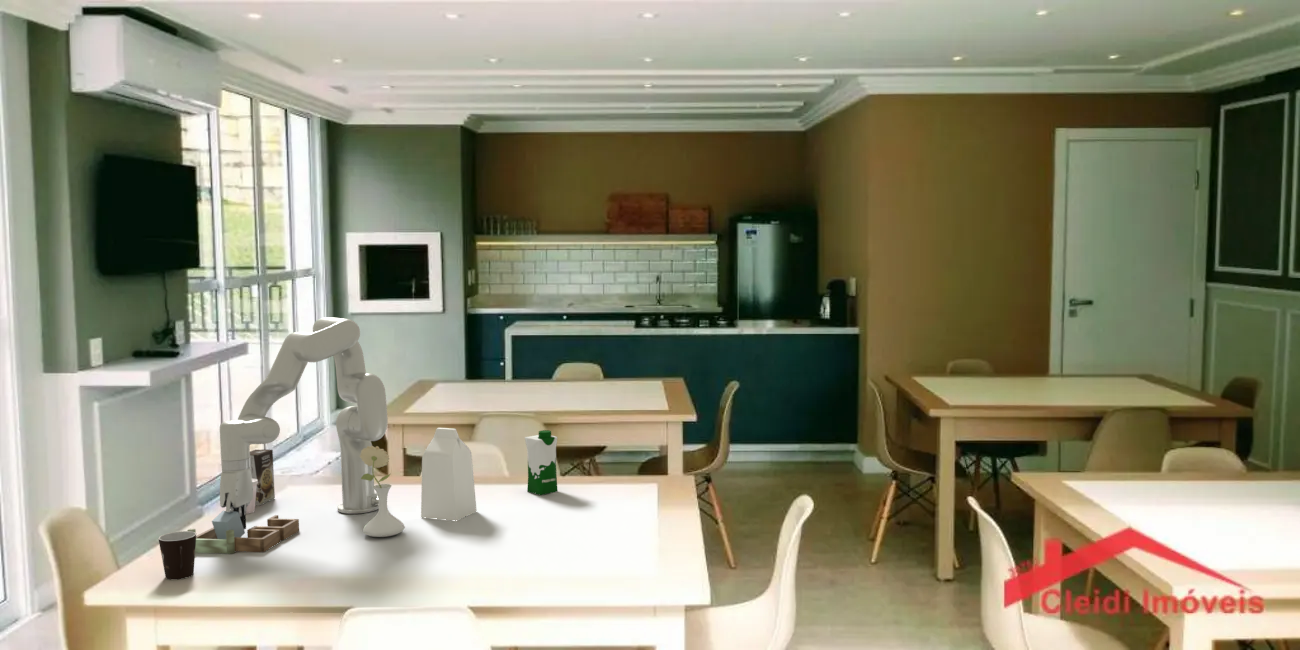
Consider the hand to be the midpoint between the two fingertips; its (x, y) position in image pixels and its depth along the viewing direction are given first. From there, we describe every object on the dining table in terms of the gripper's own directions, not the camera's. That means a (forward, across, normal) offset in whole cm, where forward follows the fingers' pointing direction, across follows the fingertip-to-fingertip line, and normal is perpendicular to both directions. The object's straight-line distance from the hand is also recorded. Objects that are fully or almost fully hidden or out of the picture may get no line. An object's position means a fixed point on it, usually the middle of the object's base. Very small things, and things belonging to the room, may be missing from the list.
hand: (239, 529), depth 298 cm
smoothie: (+2, -26, -12) cm, 29 cm away
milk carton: (+3, -59, +72) cm, 93 cm away
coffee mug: (+2, +35, +3) cm, 35 cm away
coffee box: (+2, -38, -15) cm, 41 cm away
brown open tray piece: (+2, +2, +4) cm, 5 cm away
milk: (+3, -29, +51) cm, 58 cm away
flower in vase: (+2, -6, +39) cm, 40 cm away
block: (+1, +3, 0) cm, 4 cm away
